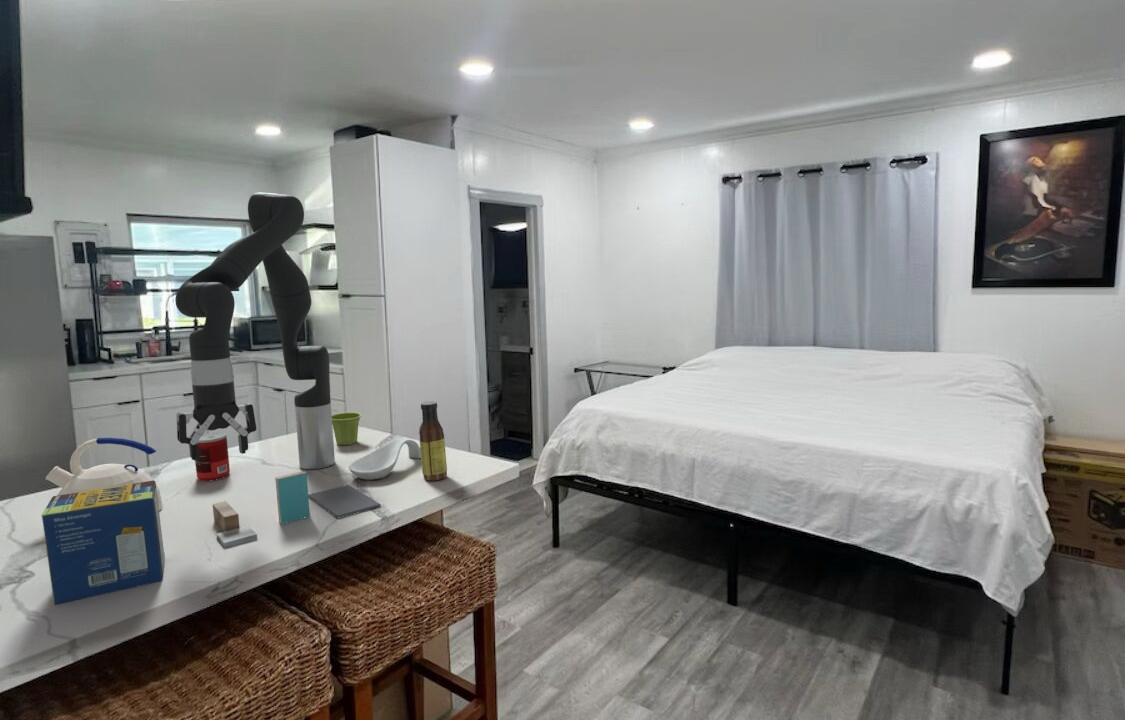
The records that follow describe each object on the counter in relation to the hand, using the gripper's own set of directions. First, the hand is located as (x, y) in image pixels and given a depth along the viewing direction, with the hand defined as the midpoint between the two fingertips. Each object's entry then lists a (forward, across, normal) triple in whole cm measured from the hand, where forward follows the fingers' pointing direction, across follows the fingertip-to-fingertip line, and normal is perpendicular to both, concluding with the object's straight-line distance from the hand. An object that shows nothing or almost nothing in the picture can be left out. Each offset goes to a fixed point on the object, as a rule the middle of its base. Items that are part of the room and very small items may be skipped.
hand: (220, 457), depth 131 cm
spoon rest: (+15, -43, -12) cm, 47 cm away
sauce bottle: (+15, -48, +3) cm, 50 cm away
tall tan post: (+15, 0, +3) cm, 16 cm away
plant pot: (+15, -45, -46) cm, 66 cm away
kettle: (+15, +18, -25) cm, 35 cm away
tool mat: (+15, -24, +3) cm, 29 cm away
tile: (+15, -12, +6) cm, 20 cm away
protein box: (+16, +21, +12) cm, 29 cm away
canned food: (+15, -6, -39) cm, 42 cm away
